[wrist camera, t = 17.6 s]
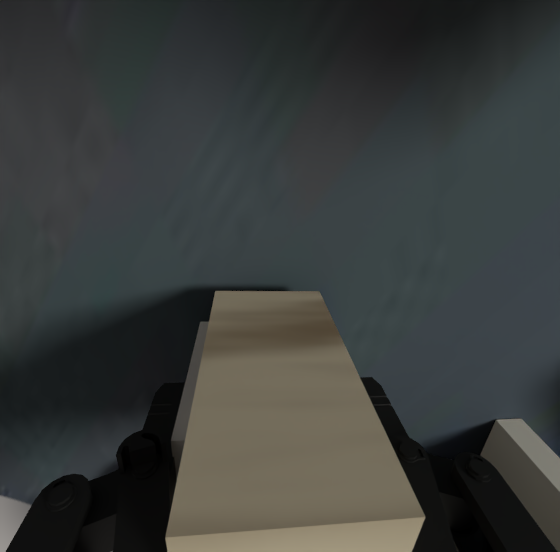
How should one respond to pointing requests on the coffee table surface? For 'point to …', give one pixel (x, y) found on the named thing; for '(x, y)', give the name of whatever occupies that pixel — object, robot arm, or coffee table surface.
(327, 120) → the coffee table surface
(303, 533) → the tan l-shaped block
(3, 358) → the coffee table surface
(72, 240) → the coffee table surface
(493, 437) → the cabinet
